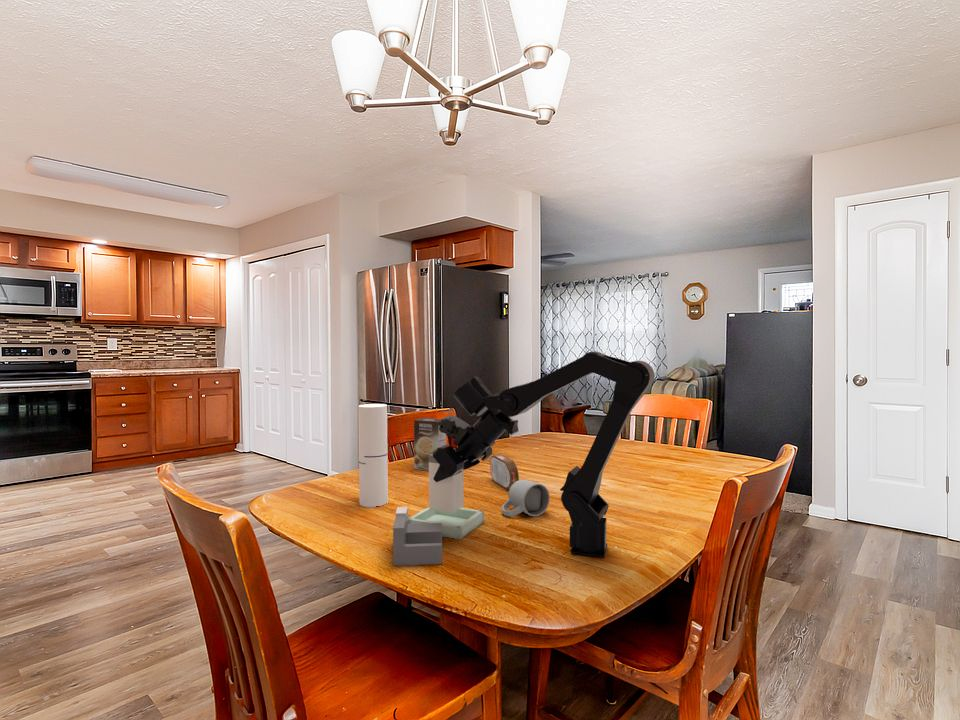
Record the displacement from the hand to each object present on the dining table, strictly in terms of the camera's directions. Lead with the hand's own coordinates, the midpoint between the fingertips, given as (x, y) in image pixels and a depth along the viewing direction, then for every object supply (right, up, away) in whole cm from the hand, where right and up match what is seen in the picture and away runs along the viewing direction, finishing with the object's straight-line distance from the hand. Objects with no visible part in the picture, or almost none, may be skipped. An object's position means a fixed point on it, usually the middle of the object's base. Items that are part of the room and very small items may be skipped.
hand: (440, 477), depth 119 cm
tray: (+1, -11, 0) cm, 11 cm away
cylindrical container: (-18, -10, +17) cm, 27 cm away
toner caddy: (+1, -7, 0) cm, 7 cm away
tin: (+15, -10, +33) cm, 38 cm away
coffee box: (-7, -9, +53) cm, 55 cm away
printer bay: (-3, -11, -15) cm, 19 cm away
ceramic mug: (+19, -11, +9) cm, 24 cm away
